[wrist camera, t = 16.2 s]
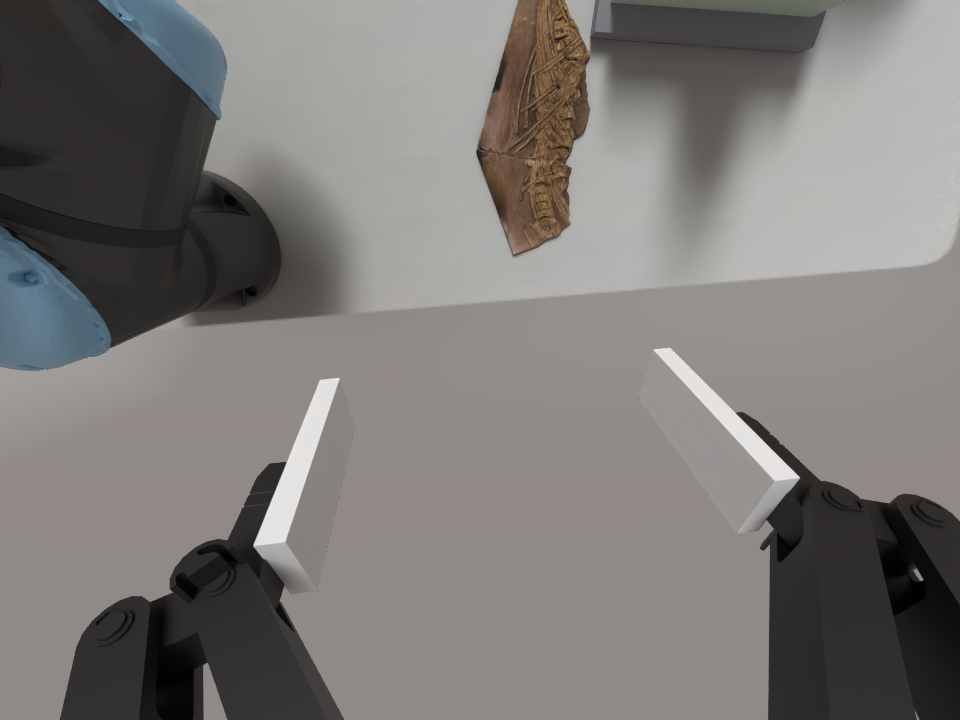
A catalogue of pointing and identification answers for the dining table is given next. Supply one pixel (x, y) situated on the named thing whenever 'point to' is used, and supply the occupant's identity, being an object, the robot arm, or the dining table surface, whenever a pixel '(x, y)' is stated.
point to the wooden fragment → (535, 122)
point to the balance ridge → (713, 22)
